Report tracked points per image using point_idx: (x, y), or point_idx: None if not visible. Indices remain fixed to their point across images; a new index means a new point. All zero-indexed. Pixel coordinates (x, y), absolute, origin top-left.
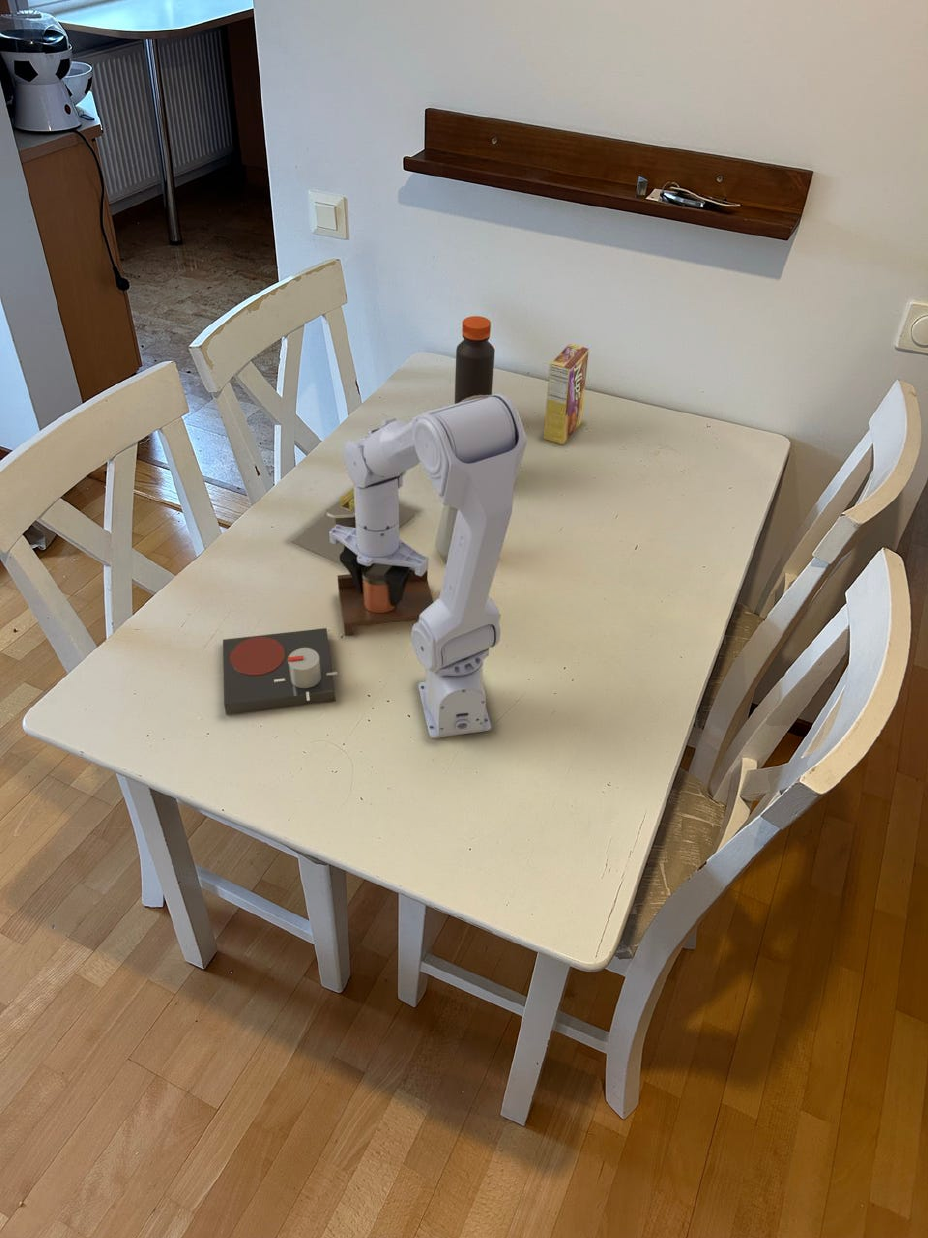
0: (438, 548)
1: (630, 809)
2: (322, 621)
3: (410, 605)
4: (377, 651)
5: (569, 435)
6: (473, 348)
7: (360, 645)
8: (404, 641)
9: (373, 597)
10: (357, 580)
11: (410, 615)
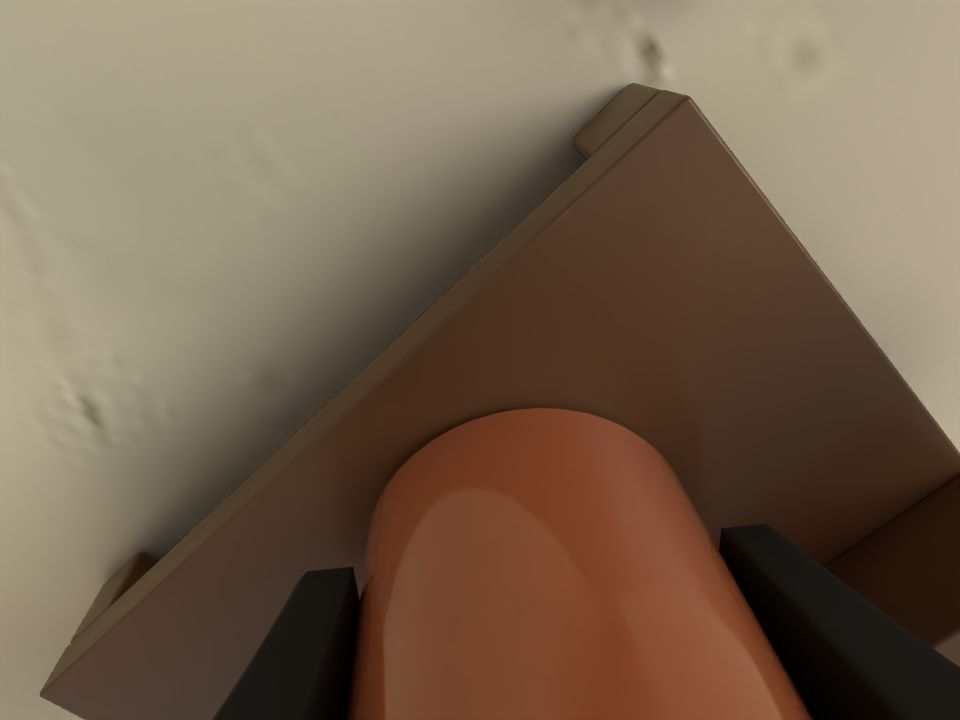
0: None
1: None
2: (915, 123)
3: None
4: (248, 89)
5: None
6: None
7: (434, 61)
8: (155, 333)
9: (515, 553)
10: (878, 678)
11: (186, 565)
